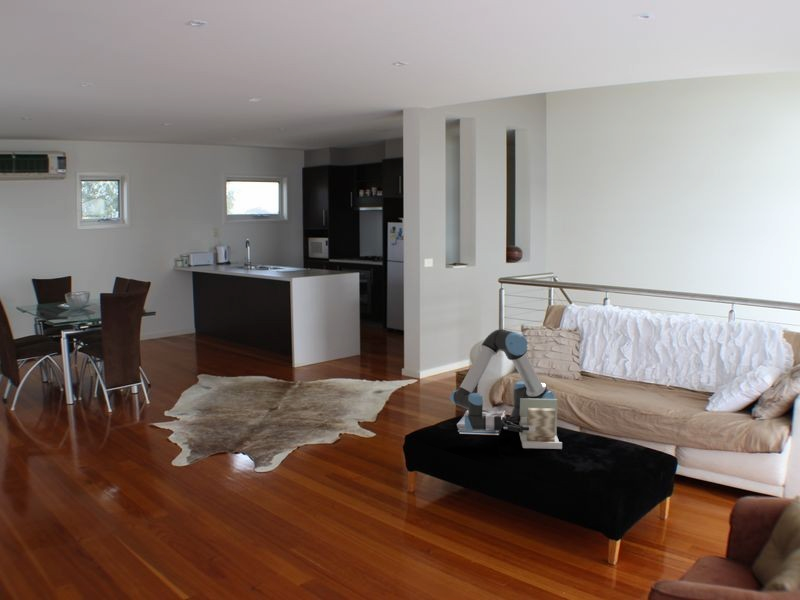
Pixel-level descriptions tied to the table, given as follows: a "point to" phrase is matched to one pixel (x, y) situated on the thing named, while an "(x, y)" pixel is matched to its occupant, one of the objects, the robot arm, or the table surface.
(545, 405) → the tray with upright backboard
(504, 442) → the table surface
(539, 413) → the beige zigzag-marked block
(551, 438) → the offcut slab top
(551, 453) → the table surface
